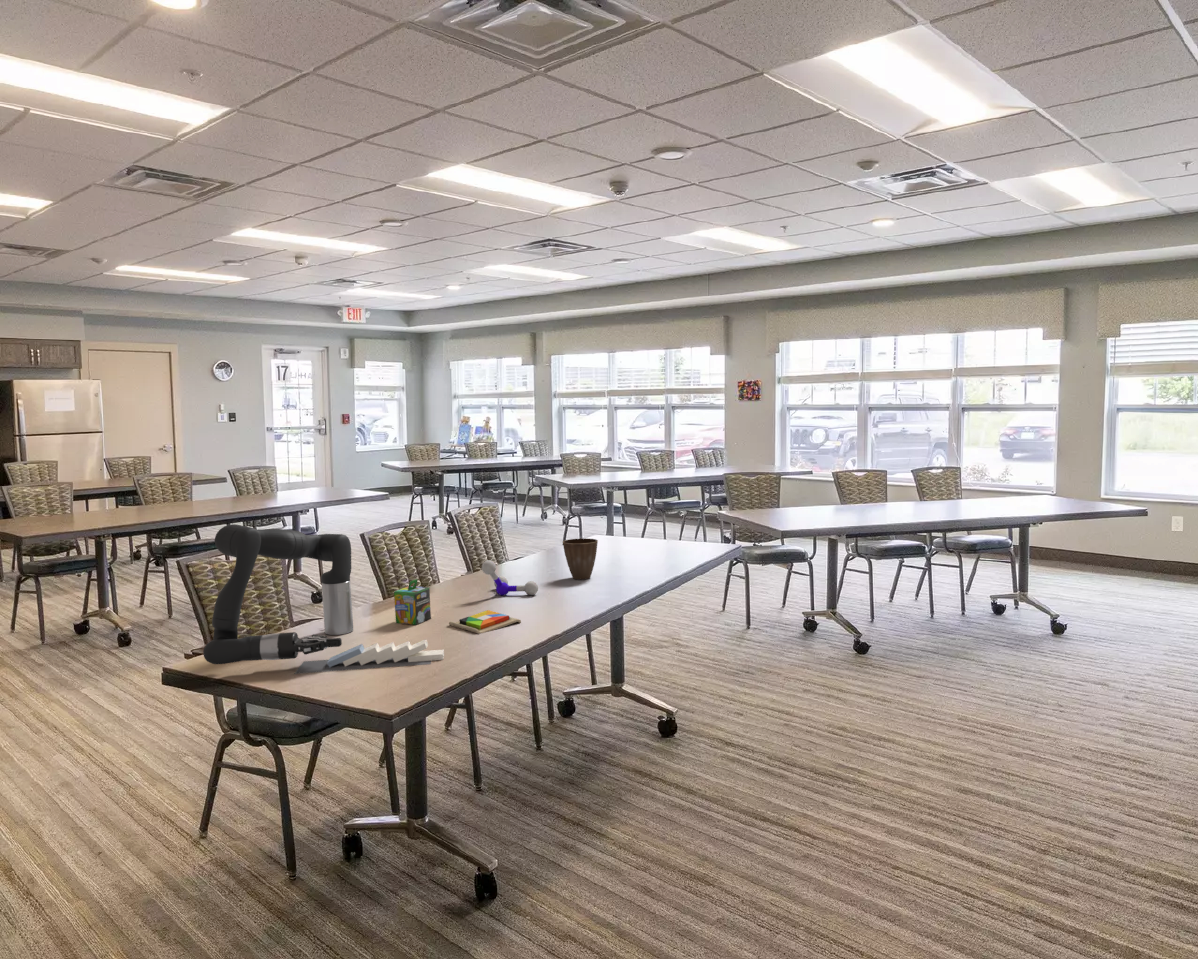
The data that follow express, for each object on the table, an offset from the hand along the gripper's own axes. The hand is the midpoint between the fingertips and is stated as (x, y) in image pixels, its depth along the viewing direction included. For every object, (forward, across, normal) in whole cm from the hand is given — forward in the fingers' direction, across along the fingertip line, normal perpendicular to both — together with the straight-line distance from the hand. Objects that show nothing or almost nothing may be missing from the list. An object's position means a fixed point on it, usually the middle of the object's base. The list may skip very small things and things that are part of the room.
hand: (341, 642), depth 246 cm
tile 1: (-4, 0, -6) cm, 7 cm away
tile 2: (+1, 0, -6) cm, 6 cm away
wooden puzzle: (+41, -38, -8) cm, 56 cm away
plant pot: (+81, -106, -7) cm, 133 cm away
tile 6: (+19, 0, -6) cm, 20 cm away
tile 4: (+10, 0, -6) cm, 12 cm away
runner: (+7, 0, -7) cm, 10 cm away
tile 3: (+5, 0, -6) cm, 8 cm away
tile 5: (+15, 0, -6) cm, 16 cm away
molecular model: (+52, -83, -7) cm, 98 cm away
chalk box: (+16, -48, -7) cm, 51 cm away
